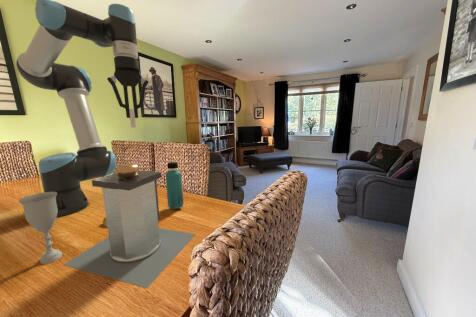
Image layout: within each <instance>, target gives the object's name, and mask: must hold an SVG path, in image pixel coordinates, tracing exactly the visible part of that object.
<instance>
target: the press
mask: <svg viewBox="0 0 476 317" xmlns="http://www.w3.org/2000/svg"><path fill="white" fill-rule="evenodd" d="M161 178H162V171H152V170H139V174H138V175H136V176H131V177H129V178H128V177H118V173H117V172H116V173H112V174H110V175H107V176H104V177H99V178H94V179H91V184H92V187H95V188H97V187H98V188H101V190H102V199H103V206H104V212H105V217H106V220H107V226H106V227H107V232H108V234H107V235H108V237H109V241H110V248H111V251H110V255H111V259H112V260H113V261H115V262H117V263H133V262H137V261H141V260H143V259H145V258H148V257H149V256H151V255H152V254H154V253H155V252H156V251H157V250H158V249H159V247H160V245H161V238H160V236H159V228H160V227H159V220H160V219H161V218H160V211H159V210H160V208H159V207H160V206H159V197H158V185H157V184H158V183H157V180H158V179H161Z"/></svg>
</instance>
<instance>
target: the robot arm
mask: <svg viewBox="0 0 476 317" xmlns="http://www.w3.org/2000/svg"><path fill="white" fill-rule="evenodd" d="M34 11H35V12H34V14H35V18H36V20H37V22H38V24H39V26H38V28H37V30H36V31H35V34H34V35H33V37H32V39H31V41H30V43H29V44H28V47H27V49H26V50H25V51H24V52H22V53H20V54H19V55H18V57H17V59H16V70H17V71H18V73H19V74H20V76H21V77H22V78H23V79H24V80H25V81H26V82H27V83H29V84H30V85H32V86H34V87H36V88H39V89H42V90H49V91H56V93H57V95H58V97H59V98H61V99H63V102H64V103H65V107H66V110H67V114H68V117H69V119H70V123H71V125H72V126H71V127H72V129H73V132H74V135H75V138H76V141H77V145H78V147H79V148H78V150H77V151H76V152H65V153H64V152H63V153H57V154H52V155H48V156H45V157H42V158H41V159H39V161H38V172H39V175H40V180H41V185H42V190H43V193H44V192H57V195H56V204H57V209H58V213H57V217H61V216H66V215H67V216H68V215H70V214H71V215H72V214H74V213H78V212H80V211H82V210H84V209H86V208H87V207H88V206H89V200H88V198H87V196H86V195H85V193H84V191H83V190H82V187H81V182H85V181H88V180H95V179H99V178H102V177H105V176H109V175H112V174H114V173H115V171H116V168H117V159H116V158H117V157H116V155H115V154H114V152H113V151H111V150H108V148H107V146H106V145H104V144H102V142H101V138H100V136H99V132H98V129H97V126H96V123H95V119H94V116H93V114H92V111H91V107H90V104H89V101H88V98H87V97H88V96H89V95H90V92H92V88H93V87H92V80H91V77H90V76H89V73H88V72H87V71H86V70H85V69H84V68H82V67H78V66H75V65H67V64H62V63H56V61H57V60H58V58H59V57H60V55H61V54H62V52H63V51H64V49H65V48H66V46H67V45H68V43H70V41H71V39H72V38H73V37H78V38H81V39H85V40H88V41H91V42H92V43H93V44H95V45H97V46H98V47H100V48H111V47H112V54H113V56H114V57H113V61H114V62H113V63H114V73H113V75H112V76H110V77H107V79H106V80H107V81H108V83H109V84H110V85H111V86H112V90H113V92H114V95H115V98H116V100H117V104H118V105H119V107H120V108H123V109H125V116H126V118H127V119H129V120H130V128H137V127H136V119H138V118H139V110H138V109H141V108H143V106H144V100H145V94H146V89H147V88H146V87H147V86H148V85H149V80H148V79H145V78H143V77H142V74H141V73H140V62H139V60H138V59H139V53H138V52H139V51H138V45H137V44H138V42H137V30H136V29H137V28H136V26H137V25H136V21H135V14H134V11H133V10H132V9H131V8H130V7H128V6H126V5H124V4H121V3H111V4H109V5H108V11H107V15H108V17H107V18H105V19H101V18H98V17H96V16H93V15H91V14H88V13H86V12H82V11H79V10H77V9H75V8H72V7H69V6H68V5H64V4H62V3H60V2H58V1H54V0H36V1H35V8H34ZM117 81H118V82H119V83H120V84H121V86H123V97H124V103H123V100H122V97H121V95H120V93H119V90H118V87H117V85H116V84H117ZM139 83H140V85H141V90H140V94H139V95H140V96H139V102H138V100H137V91H136V90H137V89H136V87H137V86H138V84H139ZM128 87H130V88H131V95H132V97H131V98H132V105H133V106H132V107H133V108H130V102H129V92H128Z"/></svg>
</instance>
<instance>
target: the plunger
mask: <svg viewBox="0 0 476 317" xmlns="http://www.w3.org/2000/svg"><path fill="white" fill-rule="evenodd" d="M116 171H117V172H116V173H118V177H128V178H129V177H131V176H136V175H138V174H139V164H138V163H125V164H123V163H122V164H119V165H116Z"/></svg>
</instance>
